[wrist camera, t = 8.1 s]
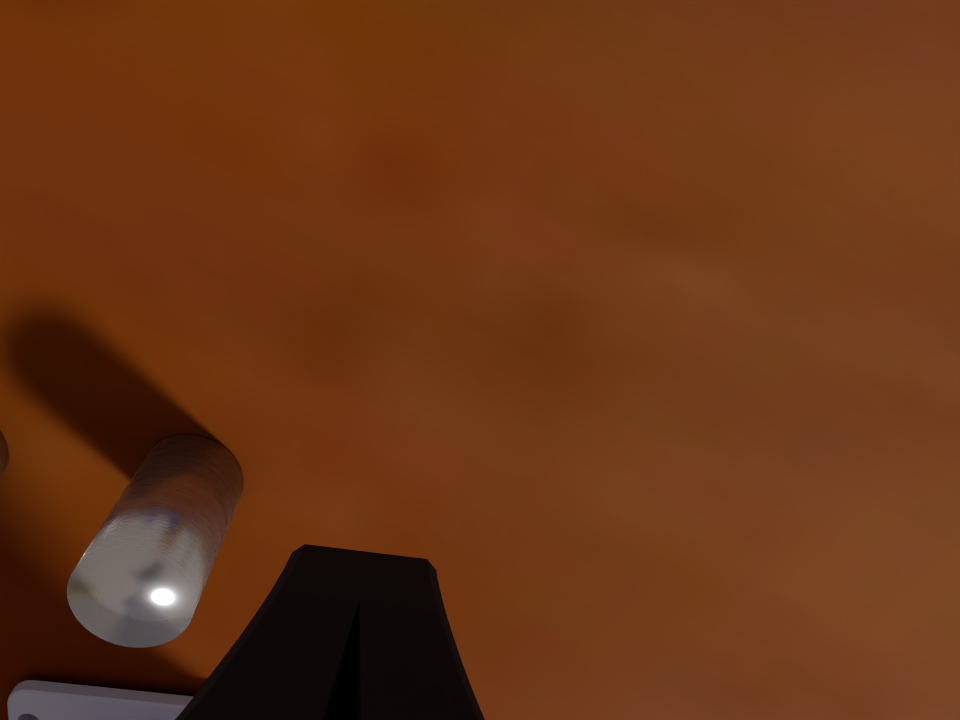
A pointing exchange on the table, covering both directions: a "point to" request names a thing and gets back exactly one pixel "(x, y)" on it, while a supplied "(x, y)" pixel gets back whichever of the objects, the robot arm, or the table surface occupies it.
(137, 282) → the table surface
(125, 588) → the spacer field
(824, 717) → the table surface
